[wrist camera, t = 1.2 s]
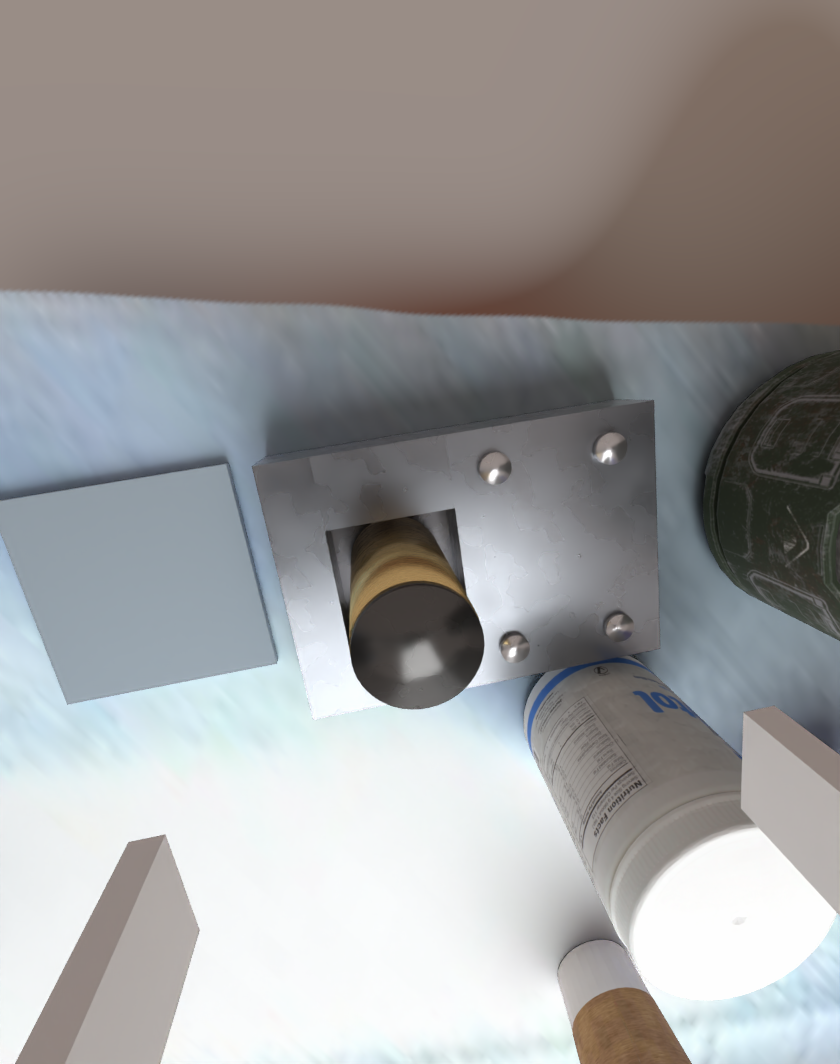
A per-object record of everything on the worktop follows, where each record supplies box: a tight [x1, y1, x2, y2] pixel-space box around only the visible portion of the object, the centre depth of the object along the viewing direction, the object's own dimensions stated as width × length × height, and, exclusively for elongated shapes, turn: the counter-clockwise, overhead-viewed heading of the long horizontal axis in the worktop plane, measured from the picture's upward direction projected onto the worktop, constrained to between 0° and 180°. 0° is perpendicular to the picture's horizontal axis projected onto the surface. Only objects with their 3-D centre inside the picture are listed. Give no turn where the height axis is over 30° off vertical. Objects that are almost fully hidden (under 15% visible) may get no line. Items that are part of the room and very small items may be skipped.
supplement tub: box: [524, 655, 837, 1000], centre depth 28 cm, size 10×10×15 cm
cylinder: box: [349, 517, 485, 709], centre depth 25 cm, size 5×5×11 cm
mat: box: [0, 463, 278, 705], centre depth 29 cm, size 12×12×1 cm
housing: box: [252, 399, 660, 720], centre depth 29 cm, size 20×14×4 cm
